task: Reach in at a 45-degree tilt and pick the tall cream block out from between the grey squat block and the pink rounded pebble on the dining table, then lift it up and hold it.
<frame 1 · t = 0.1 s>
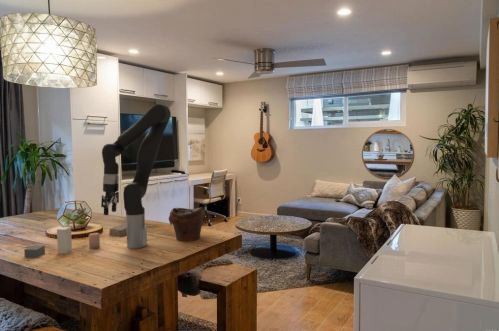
hand: (110, 213, 184), 17 cm above the table, tool pointing down, fingers open, 8 cm apart
grey squat block: (35, 255, 171), on the table
dark brown pot: (187, 238, 199), on the table
brick: (124, 233, 211), on the table
tall cream block: (65, 252, 176), on the table
pink rounded pebble: (94, 247, 183), on the table
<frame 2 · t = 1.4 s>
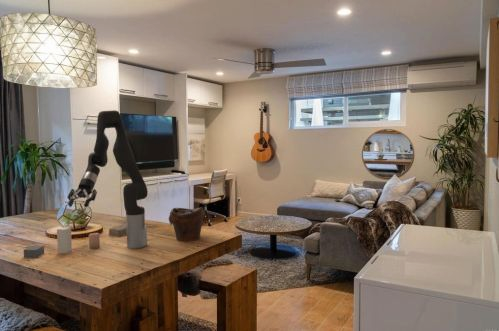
hand: (77, 206, 187), 20 cm above the table, tool tilted 45°, fingers open, 8 cm apart
nothing on the table moved.
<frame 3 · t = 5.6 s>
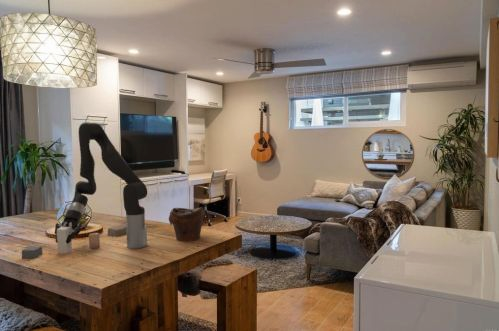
hand: (62, 242, 173), 5 cm above the table, tool tilted 45°, fingers closed on tall cream block, 4 cm apart
tall cream block: (65, 251, 176), on the table, touching gripper
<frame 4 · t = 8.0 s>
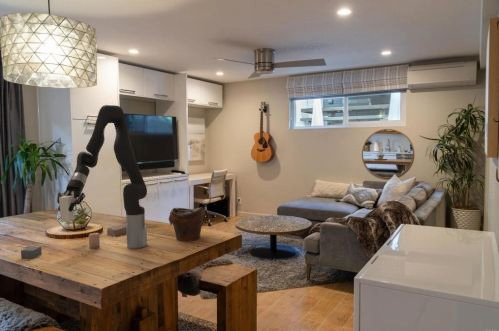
hand: (64, 210, 173), 21 cm above the table, tool tilted 45°, fingers closed on tall cream block, 4 cm apart
tall cream block: (67, 220, 176), point 15 cm above the table, touching gripper
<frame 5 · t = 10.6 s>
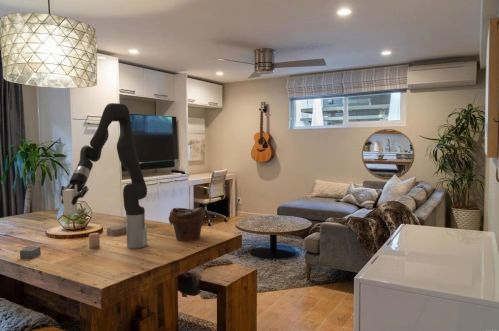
hand: (68, 203, 175), 24 cm above the table, tool tilted 45°, fingers closed on tall cream block, 4 cm apart
tall cream block: (70, 213, 177), point 19 cm above the table, touching gripper
at the end: the gripper is holding tall cream block; tall cream block point 18.7 cm above the table; pink rounded pebble moved 0.0 cm from its start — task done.
